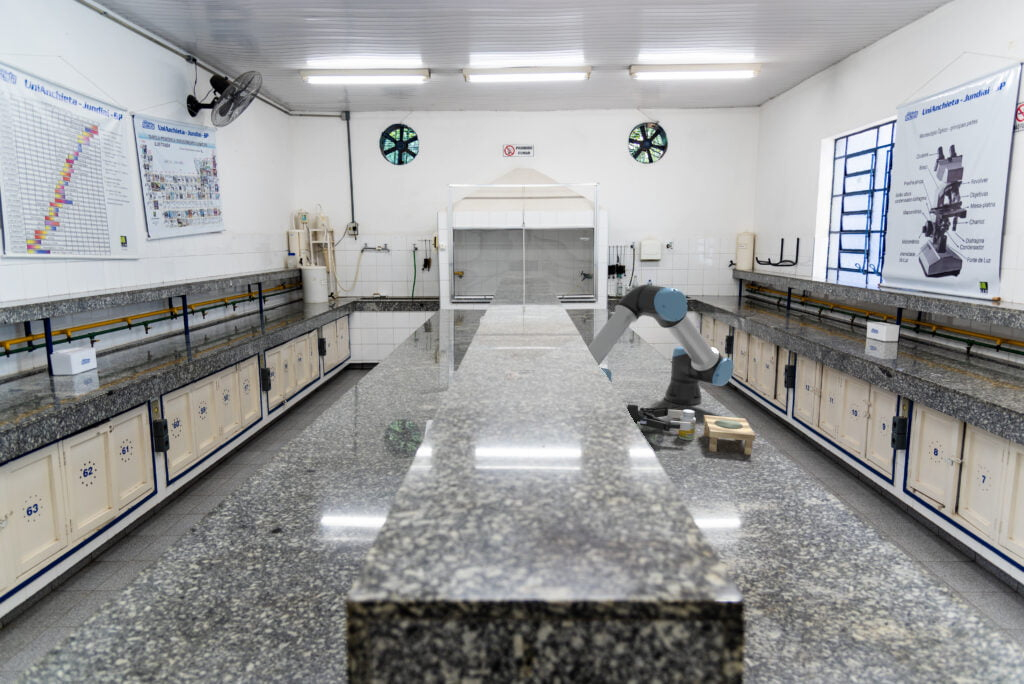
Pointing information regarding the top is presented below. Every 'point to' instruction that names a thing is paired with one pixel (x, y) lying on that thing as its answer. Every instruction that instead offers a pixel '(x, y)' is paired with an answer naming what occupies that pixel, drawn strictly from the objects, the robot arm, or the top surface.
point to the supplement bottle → (689, 417)
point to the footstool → (728, 431)
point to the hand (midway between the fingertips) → (688, 420)
